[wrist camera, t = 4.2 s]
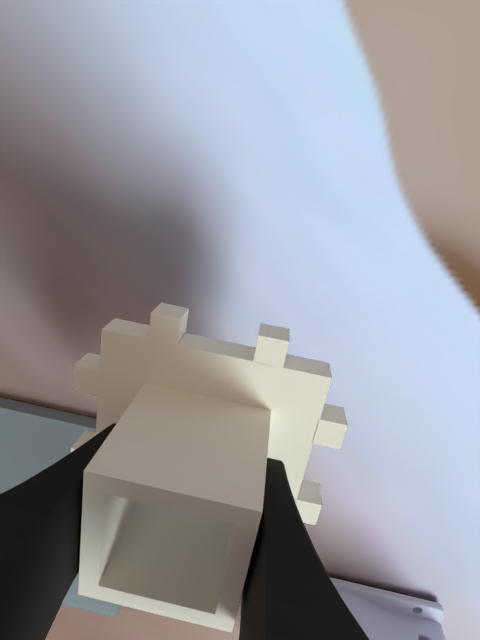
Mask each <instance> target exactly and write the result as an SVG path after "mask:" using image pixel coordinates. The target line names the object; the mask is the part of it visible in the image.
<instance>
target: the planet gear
mask: <svg viewBox="0 0 480 640" xmlns="http://www.w3.org/2000/svg"><path fill="white" fill-rule="evenodd" d="M188 312H189V308H185V307H181V306H176V305H171V304H166V303H160V304H159V305H158V306H157V307H156V308H155V309H154V310H153V311H152V312H151V316H150V325H146V324H141V323H136V322H132V321H127V320H122V319H117V318H115V319H113V320H112V321H111V322H110V323H108V324H107V325H106V326H105V327H104V328H102V330H101V348H100V355H97V354H93V353H87V354H86V355H85V356H84V357H82V358H81V359H80V360H79V361H78V362H77V363H76V364H75V365H73V390H74V391H78V392H83V393H87V394H92V395H96V396H98V401H97V419H96V433H94V432H89V431H84V432H83V433H82V435H81V436H80V437H79V438H78V439H77V441H76V442H75V443H74V444H73V446H72V447H71V452H72V451H74V450H75V449H77V448H78V447H80V446H81V445H83V444H84V443H86V442H87V441H88V440H90V439H91V438H93V437H94V436H95V435H97V434H98V433H100V432H101V431H103V430H104V429H105V428H107V427H108V426H110V425H111V424H113V423H116V425H115V427H114V428H113V430H112V431H111V432H110V434H109V435H108V437H107V438H106V440H105V441H104V442H103V444H102V445H101V447H100V448H99V450H98V451H97V452H96V454H95V455H94V457H93V458H92V460H91V461H90V462H89V464H88V465H87V467H86V468H85V470H84V476H83V498H82V520H81V543H80V565H79V587H78V595H82V596H86V597H90V598H94V599H98V600H102V601H106V602H110V603H114V604H118V605H123V606H127V607H131V608H135V609H139V610H143V611H147V612H151V613H155V614H159V615H163V616H167V617H171V618H175V619H179V620H183V621H187V622H191V623H195V624H199V625H203V626H207V627H211V628H215V629H219V630H223V631H227V632H231V633H232V630H233V626H234V622H235V618H236V614H237V610H238V606H239V602H240V598H241V594H242V591H243V587H244V583H245V579H246V575H247V571H248V567H249V563H250V559H251V555H252V551H253V548H254V544H255V540H256V536H257V532H258V528H259V524H260V520H261V516H262V512H263V501H264V489H265V478H266V466H267V458H272V459H276V460H281V461H282V462H283V463H284V465H285V470H286V474H287V478H288V481H289V485H290V488H291V491H292V494H293V497H294V500H295V503H296V506H297V508H298V511H299V513H300V516H301V518H302V521H303V523H307V524H311V525H316V522H317V519H318V516H319V513H320V510H321V507H322V501H321V490H320V484H319V483H314V482H310V481H306V480H302V479H303V476H304V473H305V469H306V466H307V462H308V459H309V455H310V452H311V449H312V445H313V444H318V445H322V446H327V447H331V448H336V449H340V448H341V445H342V442H343V438H344V435H345V432H346V429H347V426H348V425H347V420H346V416H345V411H344V408H343V407H338V406H334V405H329V404H325V400H326V397H327V394H328V390H329V387H330V383H331V380H332V375H331V370H330V365H329V363H326V362H321V361H317V360H312V359H307V358H302V357H298V356H293V355H288V354H287V349H288V345H289V331H290V329H287V328H282V327H277V326H272V325H267V324H263V323H261V326H260V330H259V335H258V340H257V345H256V348H255V347H250V346H246V345H241V344H236V343H231V342H227V341H222V340H217V339H212V338H208V337H203V336H198V335H193V334H189V333H186V326H187V319H188Z"/></svg>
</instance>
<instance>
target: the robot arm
mask: <svg viewBox="0 0 480 640" xmlns="http://www.w3.org/2000/svg"><path fill="white" fill-rule="evenodd" d="M115 425H116V423H113V424H111V425H110V426H108V427H107V428H105V429H104V430H103V431H101V432H100V433H98V434H97V435H95V436H94V437H93V438H91V439H90V440H88V441H87V442H86V443H84V444H83V445H81V446H80V447H78V448H77V449H75V450H74V451H72V452H71V453H69V454H68V455H66V456H65V457H63V458H62V459H60V460H59V461H57V462H56V463H54V464H53V465H51V466H49V467H48V468H46V469H44V470H43V471H41V472H39V473H38V474H36V475H34V476H33V477H31V478H29V479H28V480H26V481H24V482H22V483H21V484H19V485H17V486H15V487H13V488H11V489H9V490H7V491H5V492H3V493H1V494H0V640H45V638H46V636H47V634H48V632H49V630H50V628H51V625H52V623H53V621H54V619H55V617H56V615H57V613H58V611H59V608H60V606H61V604H62V602H63V600H64V598H65V596H66V594H67V592H68V590H69V588H70V587H71V585H72V583H73V581H74V579H75V577H76V576H77V574H78V572H79V565H80V543H81V520H82V498H83V476H84V470H85V468H86V467H87V465H88V464H89V462H90V461H91V460H92V458H93V457H94V455H95V454H96V452H97V451H98V450H99V448H100V447H101V445H102V444H103V442H104V441H105V440H106V438H107V437H108V435H109V434H110V432H111V431H112V430H113V428H114V427H115ZM444 614H445V613H444V611H443V608H442V606H441V605H440V604H439V603H436V602H433V601H428V600H424V599H420V598H416V597H412V596H407V595H403V594H399V593H395V592H391V591H386V590H382V589H378V588H374V587H369V586H365V585H361V584H357V583H353V582H348V581H344V580H340V579H336V578H331V577H329V575H328V573H327V572H326V570H325V568H324V566H323V564H322V562H321V560H320V558H319V556H318V554H317V552H316V550H315V548H314V546H313V544H312V542H311V539H310V537H309V535H308V533H307V531H306V528H305V526H304V523H303V521H302V518H301V516H300V513H299V511H298V508H297V506H296V503H295V500H294V497H293V494H292V491H291V488H290V485H289V481H288V478H287V474H286V470H285V465H284V463H283V462H282V461H281V460H276V459H272V458H267V466H266V478H265V489H264V501H263V512H262V516H261V520H260V524H259V528H258V532H257V536H256V540H255V544H254V548H253V551H252V555H251V559H250V563H249V567H248V571H247V575H246V579H245V583H244V587H243V591H242V603H241V623H240V635H239V640H446V639H445V636H444V633H443V630H442V627H441V624H440V623H441V621H442V619H443V617H444Z"/></svg>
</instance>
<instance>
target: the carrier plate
mask: <svg viewBox="0 0 480 640" xmlns="http://www.w3.org/2000/svg"><path fill="white" fill-rule="evenodd" d="M84 431H89V432H94V433H96V418H91V417H87V416H82V415H78V414H73V413H69V412H65V411H60V410H56V409H51V408H47V407H42V406H38V405H33V404H29V403H24V402H20V401H15V400H11V399H6V398H2V397H0V494H1V493H3V492H5V491H7V490H9V489H11V488H13V487H15V486H17V485H19V484H21V483H22V482H24V481H26V480H28V479H29V478H31V477H33V476H34V475H36V474H38V473H39V472H41V471H43V470H44V469H46V468H48V467H49V466H51V465H53V464H54V463H56V462H57V461H59V460H60V459H62V458H63V457H65V456H66V455H68V454H69V453H71V447H72V446H73V444H74V443H75V442H76V441H77V439H78V438H79V437H80V436H81V435H82V433H83V432H84ZM78 587H79V572H78V574H77V576H76V577H75V579H74V581H73V583H72V585H71V587H70V588H69V590H68V592H67V594H66V596H65V598H64V600H63V602H62V604H63V605H67V606H71V607H75V608H79V609H84V610H88V611H92V612H96V613H100V614H104V615H108V616H112V617H117V614H118V612H119V609H120V607H121V605H118V604H114V603H110V602H106V601H102V600H98V599H94V598H90V597H86V596H82V595H78Z"/></svg>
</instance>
